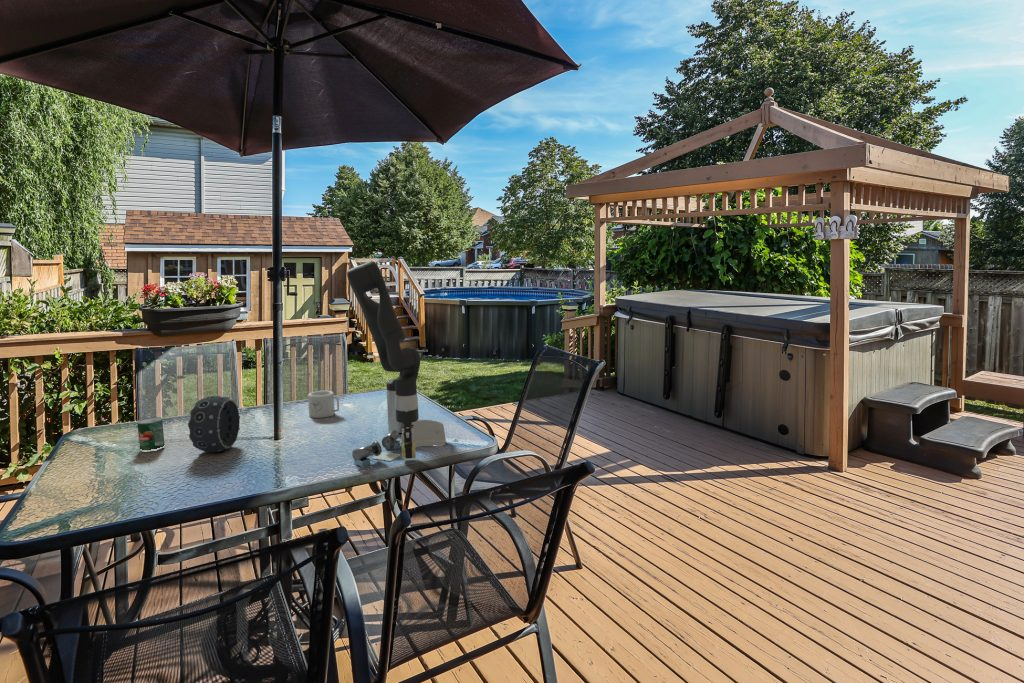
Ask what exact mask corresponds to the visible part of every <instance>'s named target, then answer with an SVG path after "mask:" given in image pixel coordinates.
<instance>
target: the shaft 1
mask: <svg viewBox="0 0 1024 683" xmlns="http://www.w3.org/2000/svg"><path fill="white" fill-rule="evenodd" d="M382 452H383V451H382V445H381V443H380V442H379V441H374V442H371V444H370V445H367V446H363V447H360V448H356V449H353V450H352V452H351V453H352V454H351V455H352V458H353V462H354V463H353V464H354V465H355V466H357V465H358V466H357V467H360V466H361V467H360V468H362V467H363V468H366V467H369V466H371V458H369V457H374V456H379V455H380V454H381V453H382ZM368 465H369V466H368ZM365 466H366V467H365Z"/></svg>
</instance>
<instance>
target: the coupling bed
mask: <svg viewBox="0 0 1024 683" xmlns="http://www.w3.org/2000/svg"><path fill="white" fill-rule="evenodd" d="M400 455H401V456H402V453H401V454H400V453H395V452H394V453H392V452H386V451H382V452H381V454H380V455H379V456H375V455H373V456H372V457H371V460H377V459H378V460H379V461H384V460H385V461H384V462H392V461H394V460H395V458H396V459H397V458H399V457H401V456H400Z"/></svg>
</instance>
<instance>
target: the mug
mask: <svg viewBox="0 0 1024 683" xmlns="http://www.w3.org/2000/svg"><path fill="white" fill-rule="evenodd" d="M307 398H308V399H307V402H308V416H309V417H310V418H313V419H325V418H330V417H332V416H334V415H335V413H336V412H338V411H340V402H339V401H340V399H339V397H338V396H335V393H334V392H333V391H331V390H316V391H312V392H309V393H308V394H307ZM335 399H336V405H337V406H336V407H337V409H335V408H336V407H335ZM329 416H330V417H329ZM324 417H325V418H324Z"/></svg>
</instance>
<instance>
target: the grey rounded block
mask: <svg viewBox="0 0 1024 683" xmlns="http://www.w3.org/2000/svg"><path fill="white" fill-rule="evenodd" d="M412 424H414V431H413V440H412V441H415V448H419V447H418V446H433V445H445V446H446V443H447V439H446V438H447V437H446V432H445V424H444V423H443V422H440V421H437V420H430V419H418V420H417V421H416V422H412ZM402 442H404V441H403V432H402V434H401V437H400V448H401V447H402Z"/></svg>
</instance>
